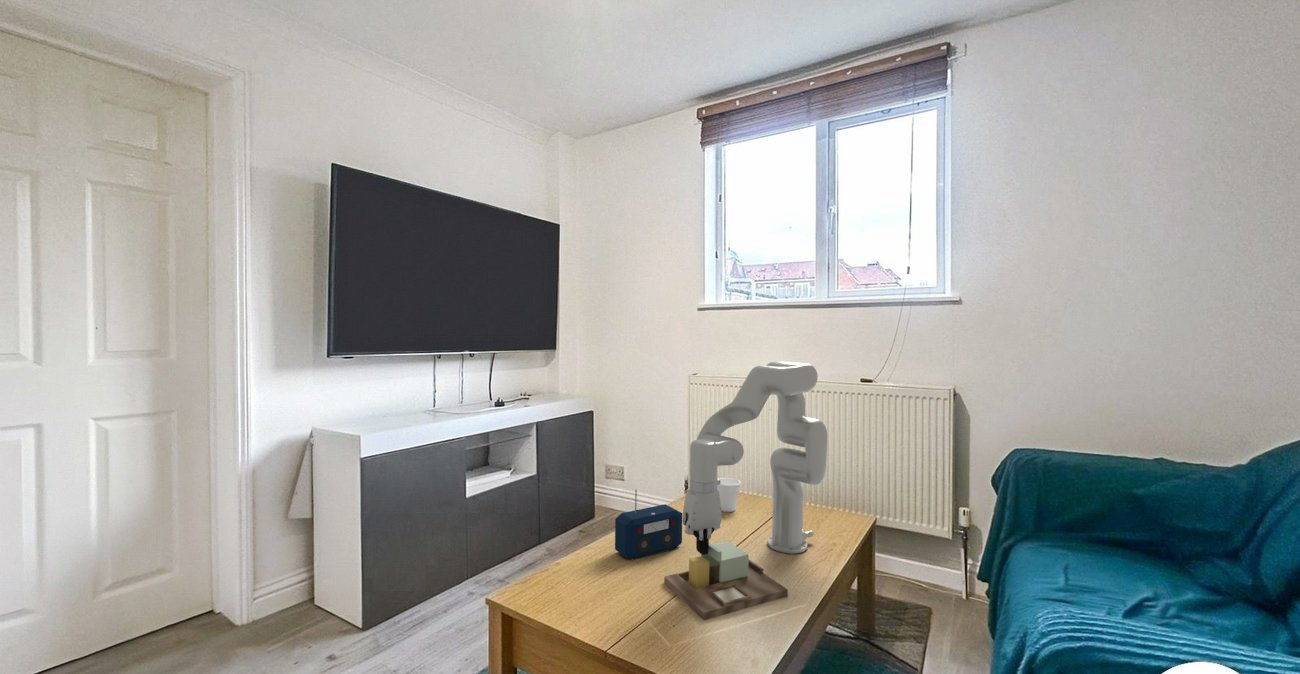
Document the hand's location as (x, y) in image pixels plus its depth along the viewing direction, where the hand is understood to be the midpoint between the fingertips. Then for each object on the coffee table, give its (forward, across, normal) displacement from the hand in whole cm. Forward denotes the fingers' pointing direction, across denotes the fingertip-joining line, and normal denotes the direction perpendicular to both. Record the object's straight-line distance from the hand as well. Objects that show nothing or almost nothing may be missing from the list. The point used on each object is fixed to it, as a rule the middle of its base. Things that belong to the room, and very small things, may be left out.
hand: (702, 552), depth 142 cm
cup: (+9, -41, -46) cm, 62 cm away
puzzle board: (+9, -4, +5) cm, 11 cm away
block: (+9, +1, 0) cm, 9 cm away
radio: (+9, +3, -26) cm, 28 cm away
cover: (+7, -7, 0) cm, 10 cm away
